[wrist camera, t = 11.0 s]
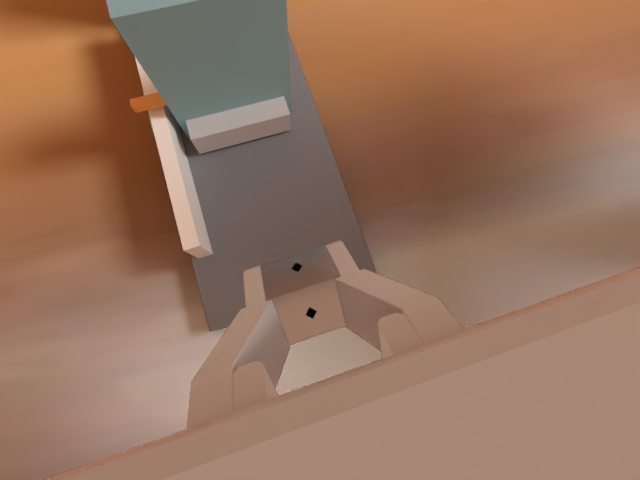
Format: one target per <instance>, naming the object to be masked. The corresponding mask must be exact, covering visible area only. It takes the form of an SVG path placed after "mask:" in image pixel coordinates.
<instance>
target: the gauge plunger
mask: <svg viewBox="0 0 640 480" xmlns="http://www.w3.org/2000/svg"><path fill="white" fill-rule="evenodd" d="M106 3H107V7H108V11H109V15H110V19H111V21H112V22H113V24H114V25H115V27H116V28H117V30H118V31H119V33H120V34H121V36H122V37H123V39H124V40H125V42H126V43H127V45H128V47H129V48H130V50H131V51H132V53H133V54H134V56H135V57H136V59H137V60H138V62H139V63H140V65H141V66H142V68H143V70H144V71H145V73H146V74H147V76H148V77H149V79H150V80H151V82H152V83H153V85H154V86H155V88H156V89H157V91H158V92H157V93H153V94H149V95H145V96H141V97H136V98H132V99H129V101H130V105H131V108H132V109H133V110H134V111H135V113H138V112H142V111H146V110H150V109H155V108H159V107H163V106H168V108H169V109H170V111H171V112H172V114H173V116H174V117H175V119H176V120H177V122H178V123H179V125H180V126H181V128H182V129H183V131H184V132H185V134H186V135H187V137H188V138H190V139H191V141H192V143H193V144H194V146H195V147H196V149H197V150H198V152H199V154H202V153H206V152H210V151H213V150H217V149H221V148H225V147H228V146H232V145H236V144H240V143H243V142H247V141H251V140H255V139H259V138H262V137H266V136H270V135H274V134H277V133H281V132H285V131H289V130H291V118H290V112H291V111H292V110H291V89H290V68H289V47H288V26H287V5H286V0H106Z"/></svg>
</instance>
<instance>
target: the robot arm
mask: <svg viewBox="0 0 640 480" xmlns="http://www.w3.org/2000/svg"><path fill="white" fill-rule="evenodd" d="M243 279H244V292H245V306H246V308H243V309H241V310H240V311H239V313H238V314H237V316H236V317H235V318H234V320H233V321H232V323H231V324H230V326H229V327H228V329H227V330H226V332H225V333H224V335H223V336H222V338H221V339H220V340H219V342H218V343H217V345H216V346H215V348H214V349H213V351H212V352H211V354H210V355H209V357H208V358H207V360H206V361H205V362H204V364H203V365H202V367H201V368H200V370H199V371H198V373H197V374H196V376H195V377H194V379H193V380H192V382H191V392H190V401H189V411H188V421H187V429H185V430H182V431H180V432H177V433H174V434H171V435H168V436H166V437H163V438H160V439H157V440H154V441H152V442H149V443H146V444H143V445H140V446H138V447H135V448H132V449H129V450H126V451H124V452H121V453H118V454H115V455H113V456H110V457H107V458H104V459H101V460H99V461H96V462H93V463H90V464H87V465H85V466H82V467H79V468H76V469H73V470H71V471H68V472H65V473H62V474H59V475H57V476H54V477H51V478H48V479H45V480H640V267H638V268H635V269H632V270H630V271H627V272H624V273H621V274H618V275H616V276H613V277H610V278H607V279H604V280H602V281H599V282H596V283H593V284H590V285H588V286H585V287H582V288H579V289H576V290H574V291H571V292H568V293H565V294H563V295H560V296H557V297H554V298H551V299H549V300H546V301H543V302H540V303H537V304H535V305H532V306H529V307H526V308H523V309H521V310H518V311H515V312H512V313H509V314H507V315H504V316H501V317H498V318H496V319H493V320H490V321H487V322H484V323H482V324H479V325H476V326H473V327H470V328H468V329H464V328H463V327H462V326H461V325H460V323H459V322H458V321H457V320H456V318H455V317H454V316H453V315H452V314H451V312H450V311H449V310H448V309H447V308H446V306H445V305H444V304H443V303H442V302H441V300H440V299H439V298H438V297H436V296H433V295H431V294H428V293H425V292H423V291H420V290H418V289H415V288H412V287H410V286H407V285H405V284H402V283H399V282H397V281H394V280H392V279H389V278H386V277H384V276H381V275H379V274H376V273H373V272H371V271H368V270H366V269H363V270H359V269H358V267H357V265H356V264H355V262H354V260H353V258H352V257H351V255H350V253H349V252H348V250H347V248H346V247H345V245H344V243H343V242H342V241H341V240H339V241H336V242H333V243H330V244H327V245H325V246H322V247H319V248H316V249H313V250H310V251H307V252H304V253H301V254H298V255H295V256H291V257H287V258H284V259H280V260H277V261H274V262H270V263H267V264H263V265H261V266H257V267H253V268H250V269H247V270H244V272H243ZM345 326H346V327H347V328H348V329H350V330H351V331H352V332H354V333H355V334H357V335H358V336H360V337H361V338H363V339H364V340H365V341H367V342H368V343H370V344H371V345H373V346H374V347H375V348H377V349H378V350H380V351H381V352H382V358H383V359H381V360H378V361H375V362H372V363H370V364H367V365H364V366H361V367H358V368H356V369H353V370H350V371H347V372H344V373H342V374H339V375H336V376H333V377H330V378H328V379H325V380H322V381H319V382H316V383H314V384H311V385H308V386H305V387H303V388H300V389H297V390H294V391H291V392H289V393H286V394H283V395H280V396H278V394H277V392H276V390H275V388H276V386H277V383H278V380H279V377H280V374H281V372H282V369H283V366H284V363H285V360H286V358H287V355H288V352H289V349H290V345H292V344H295V343H298V342H300V341H303V340H306V339H308V338H311V337H314V336H316V335H319V334H322V333H326V332H329V331H332V330H335V329H338V328H342V327H345Z"/></svg>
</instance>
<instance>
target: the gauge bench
mask: <svg viewBox="0 0 640 480" xmlns="http://www.w3.org/2000/svg"><path fill="white" fill-rule="evenodd" d="M288 47H289V68H290V89H291V110H292V111H291V112H290V118H291V130H289V131H285V132H281V133H277V134H274V135H270V136H266V137H262V138H259V139H255V140H251V141H247V142H243V143H240V144H236V145H232V146H228V147H225V148H221V149H217V150H213V151H210V152H206V153H202V154H199V152H198V150H197V149H196V147H195V146H194V144H193V143H192V141H191V139H190V138H188V137H187V135H186V134H185V132H184V131H183V129H182V128H181V126H180V125H179V123H178V122H177V120H176V119H175V117H174V116H173V114H172V112H171V111H170V109H169V108H168V106H163V107H159V108H155V109H150V110H147V111H148V115H149V119H150V123H151V127H152V131H153V133H154V135H155V139H156V143H157V147H158V151H159V155H160V159H161V163H162V167H163V171H164V175H165V179H166V183H167V187H168V191H169V195H170V199H171V203H172V204H171V207H172V211H174V215H175V219H176V223H177V227H178V231H179V235H180V239H181V243H182V247H183V251H185V252H187V253H189V254H190V256H191V260H192V264H193V268H194V272H195V276H196V280H197V284H198V288H199V292H200V296H201V299H202V303H203V307H204V311H205V315H206V319H207V323H208V327H209V331H210V332H211V331H215V330H218V329H221V328H224V327H227V326H230V324H231V323H232V321H233V320H234V318H235V317H236V316H237V314H238V313H239V311H240V310H241V309H243V308H246V306H245V292H244V279H243V272H244V270H247V269H250V268H253V267H257V266H261V265H263V264H267V263H270V262H274V261H277V260H280V259H284V258H287V257H291V256H295V255H298V254H301V253H304V252H307V251H310V250H313V249H316V248H319V247H322V246H325V245H327V244H330V243H333V242H336V241H339V240H341V241H342V242H343V243H344V245H345V247H346V248H347V250H348V252H349V253H350V255H351V257H352V258H353V260H354V262H355V264H356V265H357V267H358V269H359V270H363V269H366V270H368V271H371V272H373V273H376V270H375V268H374V265H373V262H372V259H371V257H370V254H369V251H368V248H367V246H366V243H365V240H364V238H363V235H362V232H361V229H360V227H359V224H358V221H357V218H356V216H355V213H354V210H353V207H352V205H351V202H350V199H349V196H348V194H347V191H346V188H345V185H344V183H343V180H342V177H341V175H340V172H339V169H338V166H337V164H336V161H335V158H334V155H333V153H332V150H331V147H330V144H329V142H328V139H327V136H326V133H325V131H324V128H323V125H322V122H321V120H320V117H319V114H318V112H317V109H316V106H315V103H314V101H313V98H312V95H311V92H310V90H309V87H308V84H307V81H306V79H305V76H304V73H303V70H302V68H301V65H300V62H299V60H298V57H297V54H296V51H295V49H294V46H293V43H292V40H291V38H290V35H289V32H288ZM135 60H136V64H137V68H138V72H139V75H140V79H141V83H142V87H143V91H144V93H143V95H144V96H145V95H149V94H153V93H157V92H158V91H157V89H156V88H155V86H154V85H153V83H152V82H151V80H150V79H149V77H148V76H147V74H146V73H145V71H144V70H143V68H142V66H141V65H140V63H139V62H138V60H137V59H136V57H135ZM376 274H377V273H376Z"/></svg>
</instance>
